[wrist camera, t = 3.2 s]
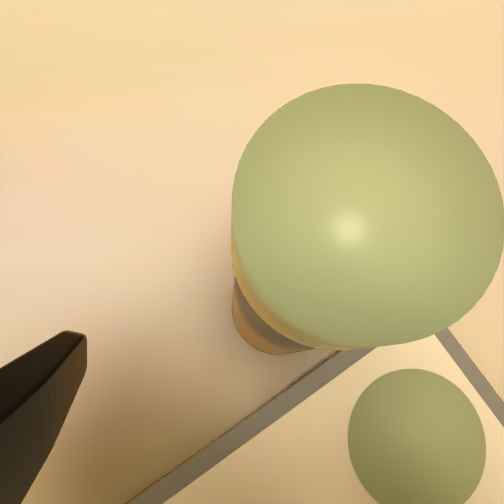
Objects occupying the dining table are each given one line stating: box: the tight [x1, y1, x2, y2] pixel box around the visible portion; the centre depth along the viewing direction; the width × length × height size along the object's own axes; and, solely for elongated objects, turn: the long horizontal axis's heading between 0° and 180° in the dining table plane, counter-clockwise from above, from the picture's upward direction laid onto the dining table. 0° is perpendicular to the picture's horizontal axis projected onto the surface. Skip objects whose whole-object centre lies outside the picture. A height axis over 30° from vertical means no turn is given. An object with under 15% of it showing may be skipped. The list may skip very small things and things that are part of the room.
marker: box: [231, 84, 504, 354], centre depth 13 cm, size 4×4×13 cm
